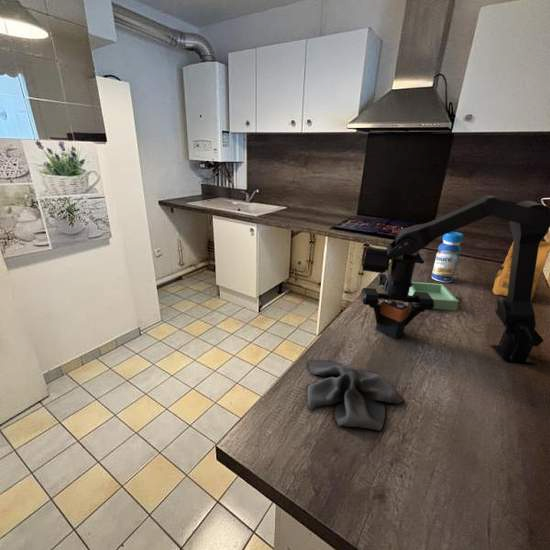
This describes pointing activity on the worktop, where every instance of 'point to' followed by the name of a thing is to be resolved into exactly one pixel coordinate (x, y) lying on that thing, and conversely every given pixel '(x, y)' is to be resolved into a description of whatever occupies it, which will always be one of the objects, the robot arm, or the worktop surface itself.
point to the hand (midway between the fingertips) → (390, 324)
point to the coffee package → (504, 272)
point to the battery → (392, 318)
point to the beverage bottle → (447, 257)
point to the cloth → (352, 394)
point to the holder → (436, 295)
